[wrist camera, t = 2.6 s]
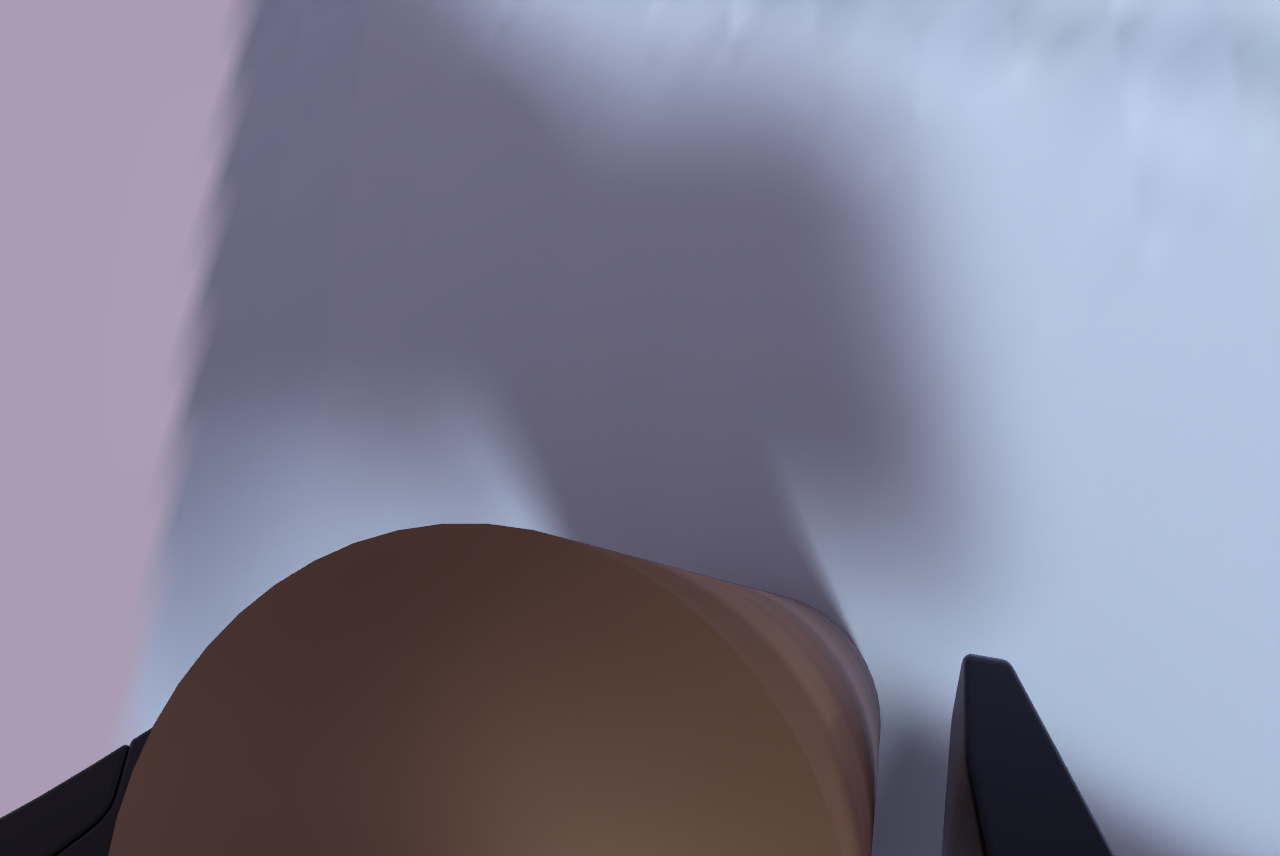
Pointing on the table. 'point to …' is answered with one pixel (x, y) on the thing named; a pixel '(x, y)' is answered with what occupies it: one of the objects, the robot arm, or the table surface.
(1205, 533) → the table surface
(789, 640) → the peg
